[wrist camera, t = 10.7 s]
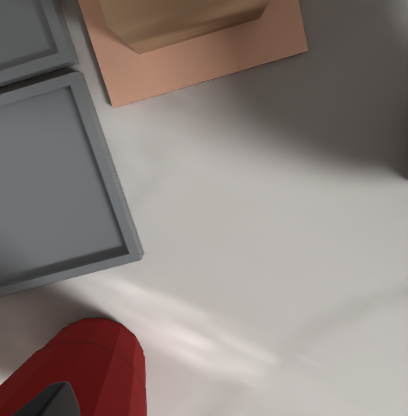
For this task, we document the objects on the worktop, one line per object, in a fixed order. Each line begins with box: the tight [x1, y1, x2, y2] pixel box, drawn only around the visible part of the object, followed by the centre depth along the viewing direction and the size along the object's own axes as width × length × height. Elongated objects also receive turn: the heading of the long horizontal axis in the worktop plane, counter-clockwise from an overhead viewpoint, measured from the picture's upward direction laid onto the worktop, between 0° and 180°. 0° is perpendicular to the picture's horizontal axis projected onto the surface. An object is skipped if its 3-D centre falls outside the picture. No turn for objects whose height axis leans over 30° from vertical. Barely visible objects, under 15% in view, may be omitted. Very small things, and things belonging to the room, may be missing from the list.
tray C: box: [0, 71, 144, 296], centre depth 20 cm, size 10×10×1 cm
